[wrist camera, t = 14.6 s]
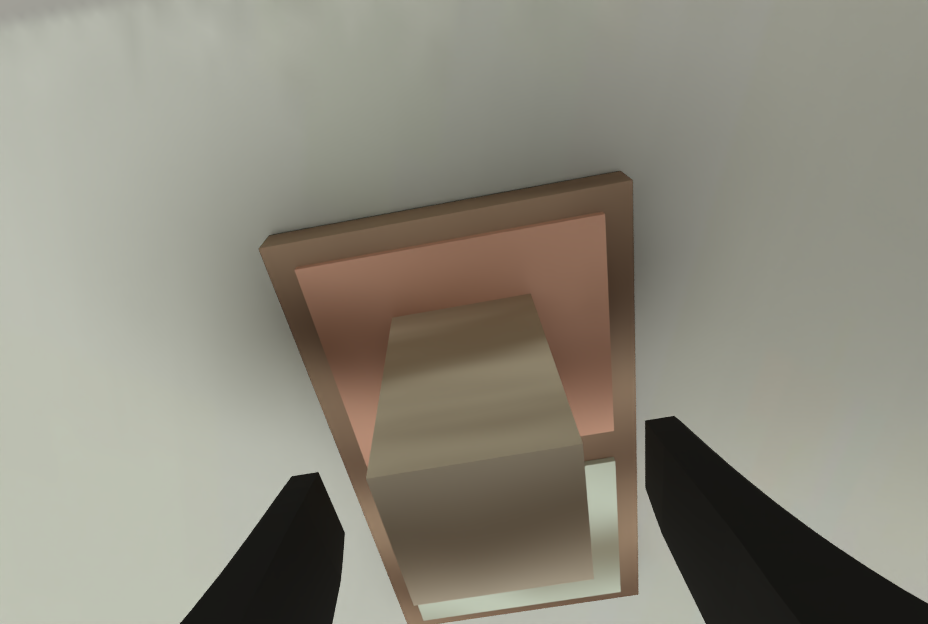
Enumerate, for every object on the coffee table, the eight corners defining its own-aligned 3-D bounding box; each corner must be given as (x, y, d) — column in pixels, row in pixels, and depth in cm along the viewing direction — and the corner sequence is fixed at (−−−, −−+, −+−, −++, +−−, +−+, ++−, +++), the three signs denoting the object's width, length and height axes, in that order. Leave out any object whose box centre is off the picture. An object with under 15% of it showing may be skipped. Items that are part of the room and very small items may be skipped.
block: (392, 317, 15) (365, 478, 9) (530, 293, 14) (583, 443, 9) (421, 423, 17) (413, 605, 11) (544, 403, 16) (594, 579, 11)
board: (269, 235, 15) (256, 251, 14) (620, 170, 14) (635, 182, 13) (410, 605, 23) (408, 632, 22) (630, 572, 23) (640, 599, 22)
